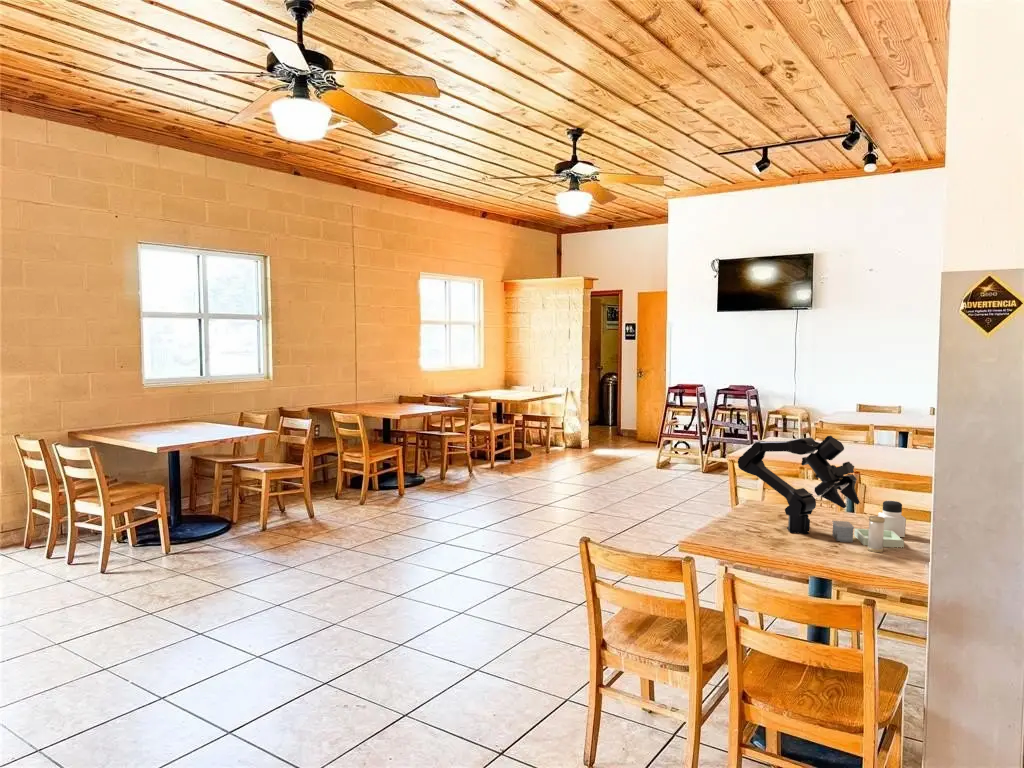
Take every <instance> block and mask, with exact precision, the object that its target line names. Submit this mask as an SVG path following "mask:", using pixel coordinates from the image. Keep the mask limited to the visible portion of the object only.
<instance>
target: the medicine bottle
mask: <svg viewBox="0 0 1024 768" xmlns="http://www.w3.org/2000/svg"><path fill="white" fill-rule="evenodd" d="M902 512H903V504H902V502H900V501H897V500H885V501H883V502H882V512H881V511H880V512H878V513H877V514H878V515H877V516H879V517H883V518H885V522H884V530H887V531H893V532H895V533H896V534H897V535H898V536H899V537H905V538H906V525H907V523H906V521H907V519H906V517H904V515H902V514H903V513H902Z"/></svg>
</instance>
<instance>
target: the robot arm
mask: <svg viewBox="0 0 1024 768" xmlns="http://www.w3.org/2000/svg"><path fill="white" fill-rule="evenodd" d="M844 450H845V445H844V444H843V443H842V442H841V441H840V440H838V439H836V438H835V437H833V435H827V436H826V437H825V438H824V439H823V440H822V441H821V442H819V441H816V440H815V439H814V438H813V437H803V438H802V437H801V438H797V439H791V440H782V441H781V440H780V441H779V440H778V441H777V440H776V441H774V440H773V441H771V440H770V441H766V440H760V441H759V440H758V441H755V442H753V444H752V445H751V447H750V448H748V449H747V450H746V451H745V452H743V454H742V455H741V456H739V457H738V458H737V459H738V460H737V467H738V468H739V470H740V471H743V472H745V473H747V474H750V475H752V476H756V477H757V478H759V480H762V482H764V483H765V484H767V485H768V486H769V487H770V488H772V489H773V490H774V491H776V492H777V493H778V494H780V495H781V496H782V497H783V498H785V499H786V502H787V504H788V506H786V507H785V508H784V512H785V515H786V516H788V522H787V523H788V525H787V527H786V529H787V531H788V532H789V533H790V534H804V535H809V534H810V528H811V520H810V519H809V515H812V512H813V510H815V508H816V506H817V500H816V498H815V497H814V496H813V493H811V492H809V491H808V490H807V489H806V488H804V487H801V488H795V487H793V486H792V485H790V484H789V483H787V481H785V480H784V479H782V478H781V477H780V476H778V475H777V474H776V473H774V472H773V471H771V470H770V469H769V468H767V467H766V465H765V462H764V458H765V455H766V452H767V453H768V452H769V453H770V452H788V453H792V454H794V455H795V454H796V455H800V456H802V455H808V456H803V457H801V463H800V465H801V466H806V465H808V466H809V467H810V469H811V470H812V471H813V472H814V473H815V475H814V477H815V479H819V480H820V481H821V482H820V483H819V484H817V485H816V486H815V487H814V493H815V494H816V496H817V497H821V498H823V499H825V500H827V501H830V502H831V503H833V504H835V505H837V506H838V507H840V508H842V509H846V508H847V505H846V503H845V502H844V500H843V498H842V497H841V495H840V494H839V493H841V494H842V495H843V496H845V497H846V498H847V499H849V500H850V501H851V502H853V503H854V504H856V505H859V504H860V503H861V502H860V499H859V496H858V495H857V492H856V489H855V485H856V484H857V478H856V476H854V475H853V474H854V473H855V471H854V469H855V465H854V464H853V463H851V462H850V461H845V462H842V464H841V465H839V466H836V465H835V464H832V465H831V464H830V463H829V461H832V460H833V459H835V458H836V457H837V456H839V455H840V454H841V453H843V451H844ZM852 473H853V474H852ZM838 490H839V492H838Z"/></svg>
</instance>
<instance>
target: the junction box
mask: <svg viewBox="0 0 1024 768" xmlns="http://www.w3.org/2000/svg"><path fill="white" fill-rule="evenodd" d="M854 529H855V527H854V525H853V524H851V522H850V521H843V520H842V521H841V520H832V535H831V536H832V537H833V539H836V540H835V541H836V542H837V541H840V543H851V544H852V543H853V541H854Z"/></svg>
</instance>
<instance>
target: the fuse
mask: <svg viewBox="0 0 1024 768" xmlns="http://www.w3.org/2000/svg"><path fill="white" fill-rule="evenodd" d="M884 522H885V518H883V517H879V516H878V515H870V516H868V529H869V535H868V546H867V551H869V552H870V553H876V554H879V553H880V554H881V553H883V552H884V547H883V536H884Z"/></svg>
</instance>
